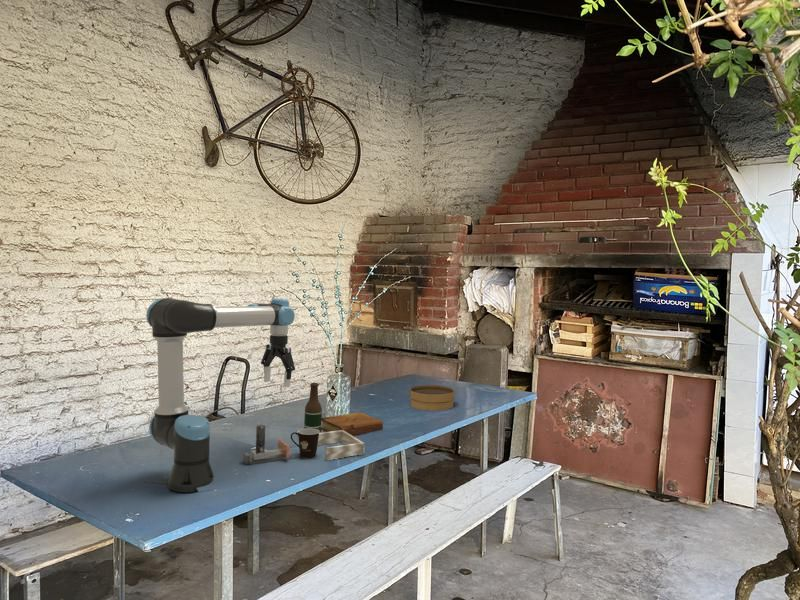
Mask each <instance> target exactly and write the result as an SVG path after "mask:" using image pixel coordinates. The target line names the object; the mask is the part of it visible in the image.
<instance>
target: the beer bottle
mask: <svg viewBox="0 0 800 600" xmlns="http://www.w3.org/2000/svg"><path fill="white" fill-rule="evenodd" d="M309 386H310V388H309V389H310V390H309V398H308V399H309V400H308V401H307V403H306V405H305V406H304V420H303V421H304V422H303V424H304V425H303V429H306V428H312V429H317V430H319V431H320V432H319V433H322V430H321V428H322V418H323V417H322V416H323V410H322V409H323V408H322V405H321V402H320V401H319V383H318V382H310V385H309Z"/></svg>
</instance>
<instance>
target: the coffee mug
mask: <svg viewBox="0 0 800 600" xmlns="http://www.w3.org/2000/svg"><path fill="white" fill-rule="evenodd" d="M319 432H320V431H319V430H317V429H312V428H306V429H304V428H301V429H298V431H295V432H292V433H291V434H290V439H291V441H292V442H293V444H295V446H297V447H298V448H299V449H298V450H299V457H301V458H302V459H313V458H315V457H316V456H317V451H318V446H319V445H318V438H319ZM293 435H296V436H297V437H298V443H297V442H296V441H295V440H294V438H293Z"/></svg>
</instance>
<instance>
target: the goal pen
mask: <svg viewBox="0 0 800 600" xmlns="http://www.w3.org/2000/svg"><path fill="white" fill-rule="evenodd" d="M337 442H338V443H343V444H342V445H335V446H328V447H325V458H324V459H325V460H324V461H334V460H333V459H335V460H339V459H338V458H342V459H345V458H344V457H348V456H353V455H359V454H364V455H365V451H366V450H365V446H366V445H365V444H366V443H365V442H363V441H362V440H360V439H359V438H357V437H356V436H352V435H350V434H349V433H347V432H345V431H344V430H339V431H331V432H325V431H323V432H321V433H319V438H318V445H317V446H323V445H324V446H325V445H331V444H337ZM348 458H349V457H348Z"/></svg>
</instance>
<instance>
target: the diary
mask: <svg viewBox="0 0 800 600" xmlns="http://www.w3.org/2000/svg"><path fill="white" fill-rule="evenodd" d="M383 426H384V422H383V421H382V420H381V419H378V418H376V417H374V416H370V415H368V414H366V413H362V412H361V411H360V412H355V413H348V414H346V413H345V414H341V415H340V414H339V415H338V414H337V415H333V416H325V417H322V422H321V431H322V430H324V431H323V432H325V431H326V432H331V431H339V430H344V431H345V432H347V433H349V434H350V435H352V436H354V437H357V436H361V434H362V435H365V434H368V433H374V432H376V431H383V430H384V427H383ZM356 435H357V436H356Z"/></svg>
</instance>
